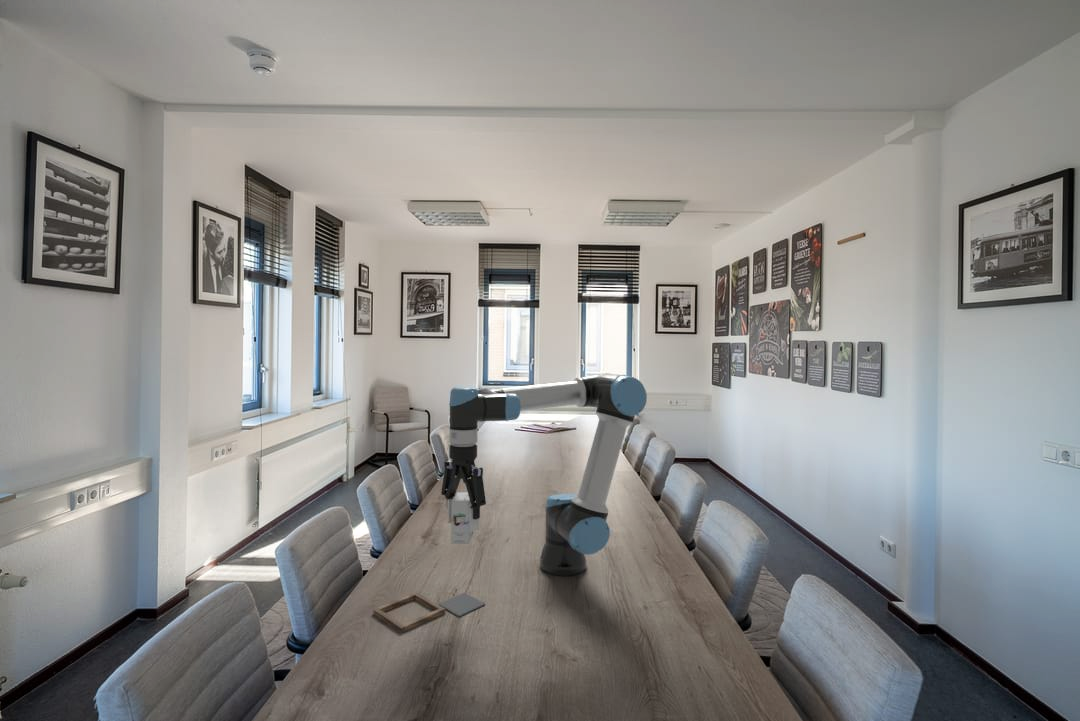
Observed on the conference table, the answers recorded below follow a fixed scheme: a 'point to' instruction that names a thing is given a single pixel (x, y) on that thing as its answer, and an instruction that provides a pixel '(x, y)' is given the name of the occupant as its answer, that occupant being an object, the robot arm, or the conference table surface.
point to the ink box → (460, 519)
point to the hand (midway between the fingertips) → (462, 526)
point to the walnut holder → (404, 627)
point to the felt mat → (461, 604)
